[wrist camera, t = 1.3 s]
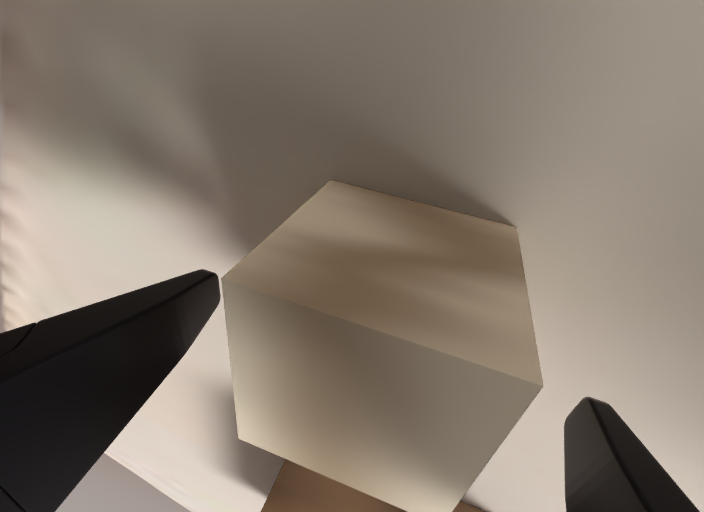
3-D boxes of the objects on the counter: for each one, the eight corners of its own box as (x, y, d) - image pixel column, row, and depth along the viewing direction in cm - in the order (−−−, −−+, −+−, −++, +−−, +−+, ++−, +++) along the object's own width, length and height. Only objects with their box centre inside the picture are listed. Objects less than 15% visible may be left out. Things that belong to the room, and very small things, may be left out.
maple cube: (516, 225, 9) (543, 385, 5) (457, 355, 11) (441, 526, 7) (331, 178, 10) (220, 278, 6) (318, 309, 12) (238, 438, 8)
